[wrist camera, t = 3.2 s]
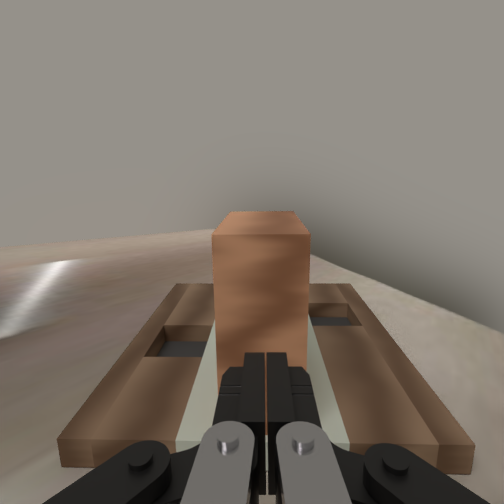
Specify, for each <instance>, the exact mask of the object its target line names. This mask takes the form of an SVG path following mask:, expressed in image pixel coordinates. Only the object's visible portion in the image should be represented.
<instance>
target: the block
mask: <svg viewBox="0 0 504 504" xmlns="http://www.w3.org/2000/svg"><path fill="white" fill-rule="evenodd" d="M310 237H311V234H310V233H309V231H308V230H307V229H306V227H305V226H304V225H303V224H302V222H301V221H300V220H299V218H298V217H297V216H296V214H295V213H294V212H293V211H266V212H264V211H259V212H230V213H229V214H228V215H227V216H226V218H225V219H224V220H223V221H222V222H221V224H220V225H219V226H218V227H217V229H216V230H215V231H214V232H213V233H212V258H213V283H214V308H215V334H216V359H217V384H218V395H219V389H220V384H221V379H222V375H223V374H224V373H225V372H226V370H227V369H228V368H229V367H243V364H244V355H245V352H265V429H266V435H268V433H267V361H266V352H286V353H287V361H288V366H302V367H303V368H304V370H305V371H307V337H308V304H309V270H310Z"/></svg>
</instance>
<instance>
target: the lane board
mask: <svg viewBox="0 0 504 504" xmlns="http://www.w3.org/2000/svg"><path fill="white" fill-rule="evenodd" d="M306 372H307V373H308V374H309V375H310V379H311V383H312V387H313V392H314V396H315V400H316V405H317V409H318V413H319V418H320V422H321V426H322V429H323V430H324V431H325V432H326V434H327V435H328V437H329V439H330V441H331V442H332V443H333V444H335V445H336V446H338V447H340V448H342V449H344V450H347V451H350V452H354V453H357V454H361V455H365V452H366V451H367V449H368V448H369V447H371V446H372V445H375V444H379V443H391V444H396V445H399V446H402V447H404V448H406V449H408V450H409V451H411V452H413V453H414V454H416V455H417V456H419V457H420V458H422V459H423V460H425V461H426V462H428V463H429V464H431V465H432V466H434V467H435V468H437V469H438V470H440V471H441V472H443V473H444V474H471V468H472V462H473V457H474V451H475V444H474V443H473V441H472V440H471V439H470V438H469V436H468V435H467V434H466V432H465V431H464V430H463V428H462V427H461V426H460V425H459V423H458V422H457V421H456V419H455V418H454V417H453V416H452V414H451V413H450V412H449V410H448V409H447V408H446V407H445V405H444V404H443V403H442V401H441V400H440V399H439V398H438V396H437V395H436V394H435V392H434V391H433V390H432V389H431V387H430V386H429V385H428V383H427V382H426V381H425V380H424V378H423V377H422V376H421V374H420V373H419V372H418V371H417V369H416V368H415V367H414V365H413V364H412V363H411V362H410V360H409V359H408V358H407V356H406V355H405V354H404V353H403V351H402V350H401V349H400V347H399V346H398V345H397V344H396V342H395V341H394V340H393V338H392V337H391V336H390V334H389V333H388V332H387V331H386V329H385V328H384V327H383V325H382V324H381V323H380V322H379V320H378V319H377V318H376V316H375V315H374V314H373V313H372V311H371V310H370V309H369V307H368V306H367V305H366V304H365V302H364V301H363V300H362V298H361V297H360V296H359V295H358V293H357V292H356V291H355V289H354V288H353V287H352V286H351V284H309V304H308V337H307V371H306ZM217 399H218V384H217V359H216V334H215V308H214V284H176V285H175V286H174V287H173V289H172V290H171V291H170V293H169V294H168V295H167V296H166V298H165V299H164V300H163V302H162V303H161V304H160V306H159V307H158V308H157V309H156V311H155V312H154V313H153V315H152V316H151V317H150V318H149V320H148V321H147V322H146V324H145V325H144V326H143V328H142V329H141V330H140V331H139V333H138V334H137V335H136V337H135V338H134V339H133V341H132V342H131V343H130V344H129V346H128V347H127V348H126V350H125V351H124V352H123V354H122V355H121V356H120V357H119V359H118V360H117V361H116V363H115V364H114V365H113V366H112V368H111V369H110V370H109V372H108V373H107V374H106V376H105V377H104V378H103V379H102V381H101V382H100V383H99V385H98V386H97V387H96V389H95V390H94V391H93V392H92V394H91V395H90V396H89V398H88V399H87V400H86V402H85V403H84V404H83V405H82V407H81V408H80V409H79V411H78V412H77V413H76V415H75V416H74V417H73V418H72V420H71V421H70V422H69V424H68V425H67V426H66V427H65V429H64V430H63V431H62V433H61V434H60V435H59V437H58V438H57V443H58V449H59V455H60V460H61V466H62V467H93V468H96V467H98V466H99V465H101V464H102V463H104V462H105V461H107V460H108V459H110V458H111V457H113V456H114V455H116V454H117V453H119V452H120V451H122V450H123V449H125V448H126V447H128V446H130V445H132V444H134V443H137V442H140V441H145V440H155V441H159V442H161V443H163V444H164V445H166V446H167V448H168V449H169V452H170V454H172V453H176V452H180V451H184V450H187V449H190V448H192V447H195V446H196V445H198V444H200V443H201V440H202V437H203V435H204V433H205V432H206V431H207V430H208V429H209V428H210V427H211V426H212V423H213V418H214V413H215V408H216V404H217ZM266 471H268V435H266Z"/></svg>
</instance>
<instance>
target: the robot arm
mask: <svg viewBox="0 0 504 504" xmlns="http://www.w3.org/2000/svg"><path fill="white" fill-rule="evenodd" d="M266 361H267V433H268V495H276V504H490V503H488V502H487V501H485V500H484V499H482V498H481V497H479V496H478V495H476V494H475V493H473V492H472V491H470V490H469V489H467V488H466V487H464V486H463V485H461V484H460V483H458V482H456V481H455V480H453V479H452V478H450V477H449V476H447V475H446V474H444V473H443V472H441V471H440V470H438V469H437V468H435V467H434V466H432V465H431V464H429V463H428V462H426V461H425V460H423V459H422V458H420V457H419V456H417V455H416V454H414V453H413V452H411V451H409V450H408V449H406V448H404V447H402V446H399V445H396V444H391V443H379V444H375V445H372V446H371V447H369V448H368V449H367V451H366V452H365V455H361V454H357V453H354V452H350V451H347V450H344V449H342V448H340V447H338V446H336V445H335V444H333V443H332V442H331V441H330V439H329V437H328V435H327V434H326V432H325V431H324V430H323V429H322V426H321V422H320V418H319V413H318V409H317V405H316V400H315V396H314V392H313V387H312V383H311V379H310V375H309V374H308V373H307V372H306V371H305V370H304V368H303V367H302V366H288V361H287V353H286V352H266ZM259 495H266V429H265V352H245V355H244V364H243V367H229V368H228V369H227V370H226V372H225V373H224V374H223V375H222V379H221V384H220V389H219V395H218V399H217V404H216V408H215V413H214V418H213V423H212V426H211V427H210V428H209V429H208V430H207V431H206V432H205V433H204V435H203V437H202V440H201V443H200V444H198V445H196V446H195V447H192V448H190V449H187V450H184V451H180V452H176V453H172V454H170V452H169V449H168V448H167V446H166V445H164V444H163V443H161V442H159V441H155V440H145V441H140V442H137V443H134V444H132V445H130V446H128V447H126V448H125V449H123V450H122V451H120V452H119V453H117V454H116V455H114V456H113V457H111V458H110V459H108V460H107V461H105V462H104V463H102V464H101V465H99V466H98V467H96V468H95V469H93V470H92V471H90V472H89V473H87V474H86V475H84V476H83V477H81V478H80V479H78V480H77V481H75V482H74V483H72V484H71V485H69V486H68V487H66V488H65V489H63V490H62V491H60V492H59V493H58V494H56V495H55V496H53V497H52V498H50V499H49V500H47V501H46V502H44V503H43V504H259Z"/></svg>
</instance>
